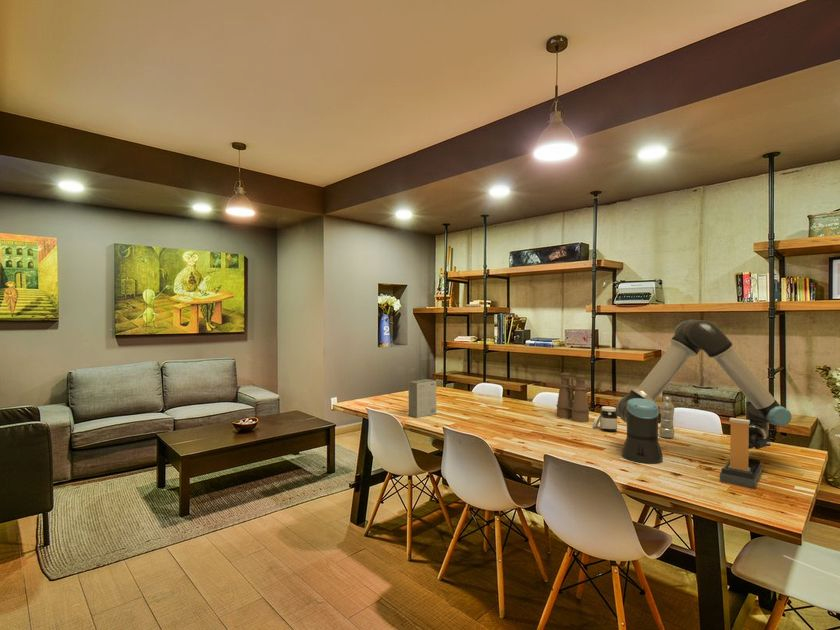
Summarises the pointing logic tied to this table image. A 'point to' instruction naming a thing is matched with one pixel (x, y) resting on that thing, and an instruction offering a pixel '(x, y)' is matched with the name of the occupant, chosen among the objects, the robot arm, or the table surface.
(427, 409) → the hard drive box
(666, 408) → the plastic bottle
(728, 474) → the dark grey stand
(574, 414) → the binoculars
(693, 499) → the table surface
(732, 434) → the tan upright block
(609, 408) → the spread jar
